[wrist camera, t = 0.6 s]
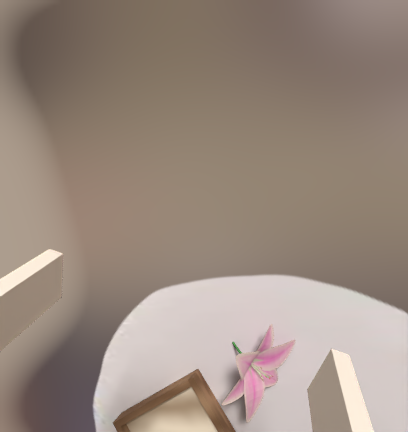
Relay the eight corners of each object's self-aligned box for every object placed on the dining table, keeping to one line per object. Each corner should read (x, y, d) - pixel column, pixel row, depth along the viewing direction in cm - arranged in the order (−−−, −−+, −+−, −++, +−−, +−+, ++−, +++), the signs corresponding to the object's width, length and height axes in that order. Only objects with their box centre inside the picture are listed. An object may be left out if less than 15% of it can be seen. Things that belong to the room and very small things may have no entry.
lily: (242, 400, 42) (271, 456, 32) (185, 355, 39) (199, 400, 30) (291, 337, 43) (333, 373, 34) (240, 290, 41) (269, 315, 32)
